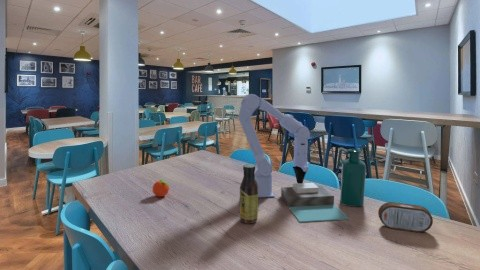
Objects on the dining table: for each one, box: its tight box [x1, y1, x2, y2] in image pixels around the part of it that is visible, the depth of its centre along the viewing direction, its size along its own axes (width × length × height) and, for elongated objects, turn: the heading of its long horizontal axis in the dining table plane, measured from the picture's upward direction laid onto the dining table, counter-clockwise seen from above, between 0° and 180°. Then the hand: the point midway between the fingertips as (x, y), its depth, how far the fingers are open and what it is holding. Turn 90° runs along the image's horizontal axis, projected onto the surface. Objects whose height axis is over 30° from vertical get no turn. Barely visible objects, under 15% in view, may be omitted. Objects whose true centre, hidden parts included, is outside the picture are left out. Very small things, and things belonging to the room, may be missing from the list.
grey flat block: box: [280, 185, 335, 208], centre depth 110 cm, size 18×12×4 cm, turn 96°
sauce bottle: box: [239, 163, 259, 224], centre depth 92 cm, size 7×6×20 cm
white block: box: [292, 182, 319, 193], centre depth 111 cm, size 9×6×2 cm, turn 96°
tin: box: [377, 201, 434, 233], centre depth 86 cm, size 15×3×8 cm, turn 70°
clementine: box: [152, 179, 170, 197], centre depth 116 cm, size 8×7×7 cm
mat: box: [288, 204, 350, 223], centre depth 99 cm, size 18×12×1 cm, turn 96°
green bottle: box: [339, 146, 367, 208], centre depth 107 cm, size 10×8×22 cm
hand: (299, 183), depth 118 cm, fingers closed
